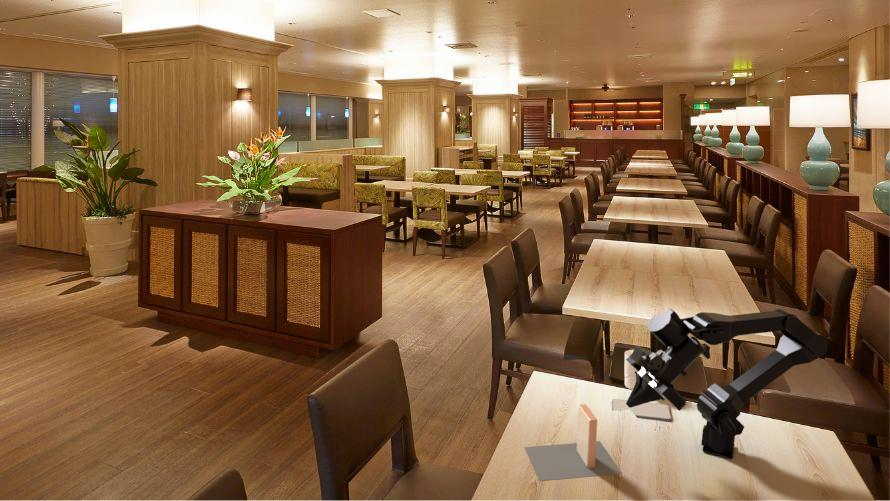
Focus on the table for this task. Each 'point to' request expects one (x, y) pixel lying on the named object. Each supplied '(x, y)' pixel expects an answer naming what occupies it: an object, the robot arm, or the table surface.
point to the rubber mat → (568, 462)
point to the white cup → (629, 372)
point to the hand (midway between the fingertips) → (627, 405)
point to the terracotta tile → (586, 435)
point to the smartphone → (645, 410)
